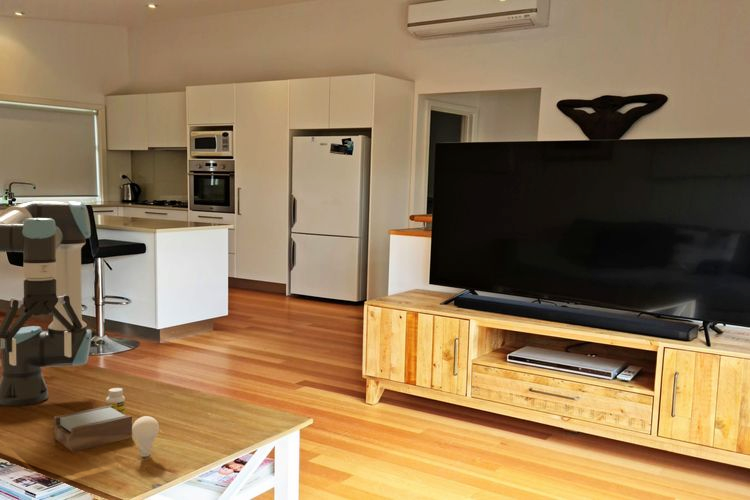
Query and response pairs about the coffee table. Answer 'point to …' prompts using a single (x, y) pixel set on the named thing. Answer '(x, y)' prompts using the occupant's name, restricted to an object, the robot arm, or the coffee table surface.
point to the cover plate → (89, 418)
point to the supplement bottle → (116, 399)
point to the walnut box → (93, 432)
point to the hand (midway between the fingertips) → (41, 360)
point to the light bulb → (145, 434)
